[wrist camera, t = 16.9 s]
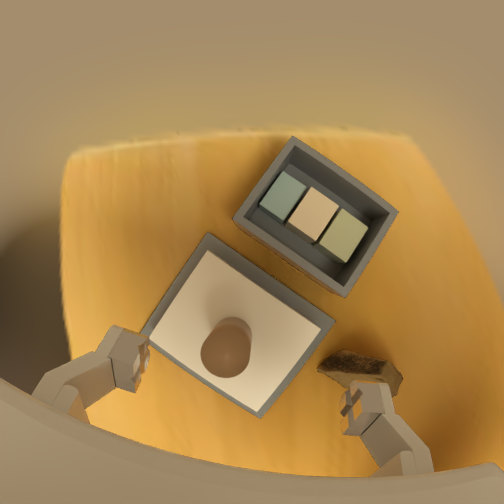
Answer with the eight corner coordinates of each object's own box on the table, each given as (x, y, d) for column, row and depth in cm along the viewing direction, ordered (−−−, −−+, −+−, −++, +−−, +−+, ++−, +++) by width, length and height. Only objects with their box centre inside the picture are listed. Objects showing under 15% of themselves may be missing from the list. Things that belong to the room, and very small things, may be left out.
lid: (317, 324, 38) (337, 346, 27) (257, 403, 37) (256, 445, 27) (210, 251, 38) (192, 245, 28) (155, 333, 38) (121, 355, 27)
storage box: (376, 220, 39) (398, 211, 32) (330, 292, 38) (345, 298, 31) (287, 156, 39) (292, 135, 32) (236, 227, 39) (231, 218, 32)
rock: (422, 376, 35) (395, 321, 34) (415, 427, 28) (385, 371, 28) (354, 394, 42) (322, 346, 41) (337, 439, 35) (299, 391, 34)
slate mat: (334, 320, 38) (336, 321, 38) (260, 416, 38) (260, 418, 37) (208, 232, 39) (207, 231, 38) (140, 334, 39) (138, 335, 38)
